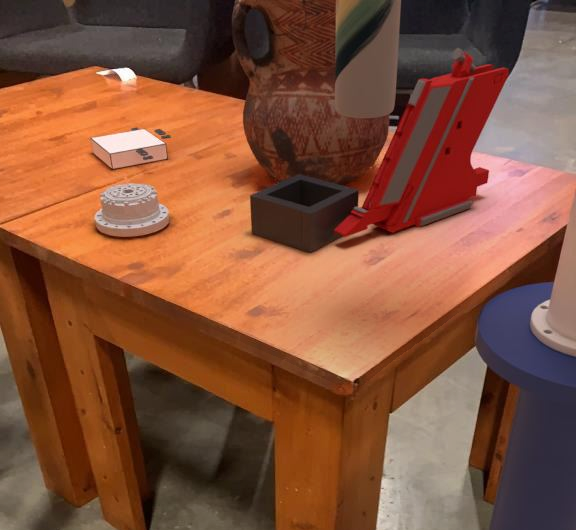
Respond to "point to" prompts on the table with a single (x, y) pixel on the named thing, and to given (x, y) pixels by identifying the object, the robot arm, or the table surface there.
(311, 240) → the holder
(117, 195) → the mechanical component
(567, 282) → the robot arm
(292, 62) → the jug
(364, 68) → the lotion bottle
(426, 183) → the tool
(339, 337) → the table surface
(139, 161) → the container
